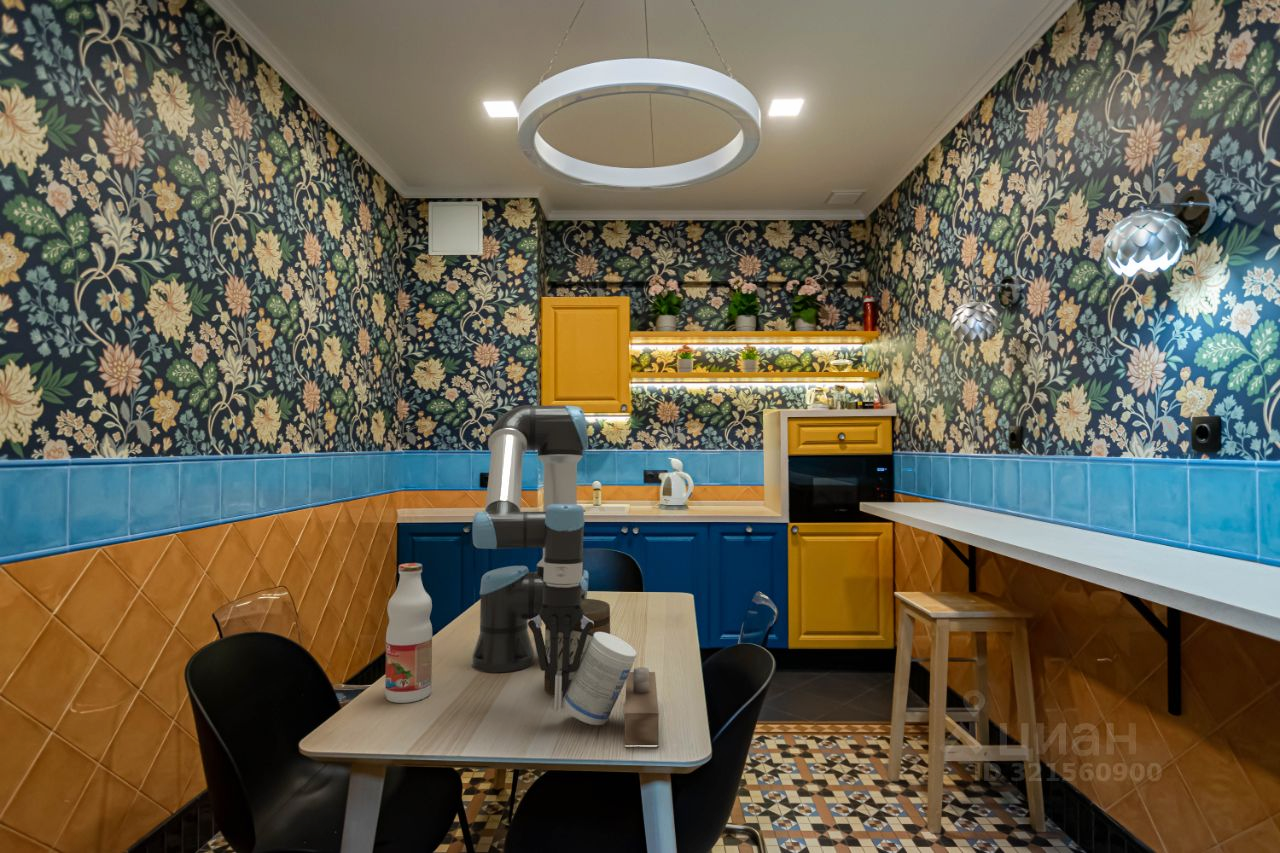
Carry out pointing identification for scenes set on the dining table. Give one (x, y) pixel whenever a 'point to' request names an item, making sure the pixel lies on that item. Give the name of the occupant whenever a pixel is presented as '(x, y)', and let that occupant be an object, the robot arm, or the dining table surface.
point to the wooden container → (579, 634)
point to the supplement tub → (599, 678)
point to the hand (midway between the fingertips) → (558, 707)
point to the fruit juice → (409, 639)
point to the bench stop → (641, 708)
